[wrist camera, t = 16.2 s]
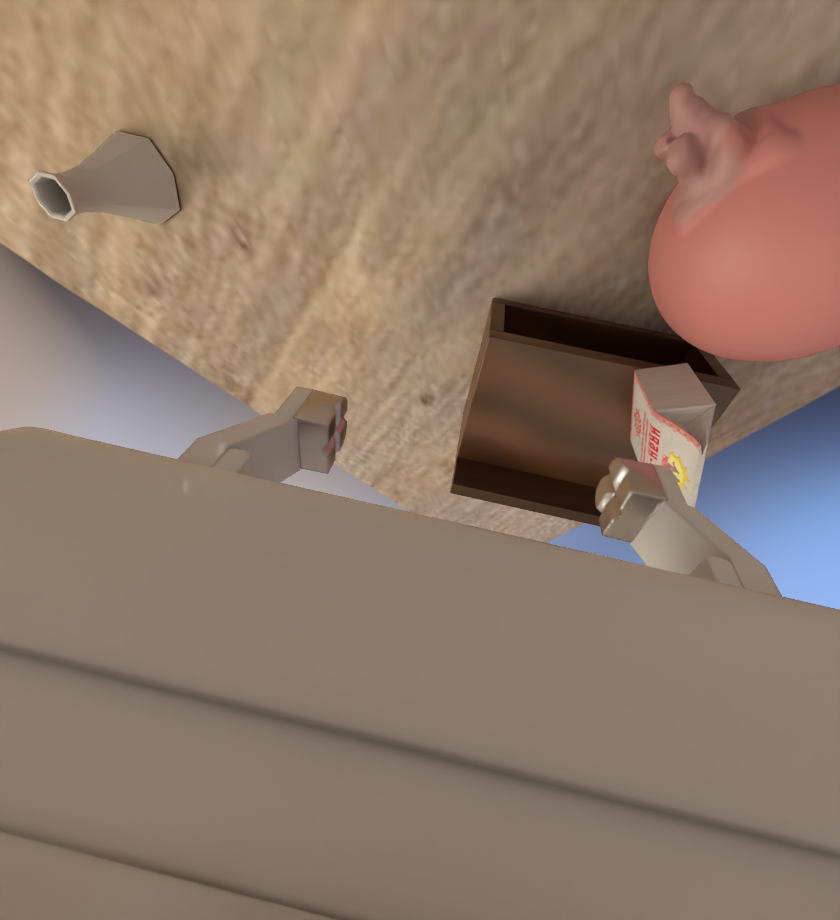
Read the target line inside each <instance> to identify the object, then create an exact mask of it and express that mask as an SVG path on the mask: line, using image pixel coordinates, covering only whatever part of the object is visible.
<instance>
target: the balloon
mask: <svg viewBox="0 0 840 920" xmlns="http://www.w3.org/2000/svg"><path fill="white" fill-rule="evenodd" d="M669 105H670V110H669V115H670V120H671V129H670V130H669V131H667V132H666V133H665V134H663V135H662V136H661V137H660V138H659V139H658V140H657V142H656V144H655V146H654V154H655V156H656V157H658V158H659V159H662V160H663V161H664V163H665V164H666V165H667V167H668V169H669V171H670V172H671V173H672V174H674V175H675V176H676V178H677V180H678V184H677V185H676V187H675V188H674V190H673V191H672V193H671V195H670V196H669V198H668V200H667V202H666V203H665V205H664V207H663V209H662V211H661V214H660V216H659V218H658V221H657V223H656V226H655V229H654V233H653V236H652V240H651V245H650V251H649V261H648V273H649V282H650V287H651V292H652V295H653V298H654V301H655V303H656V306H657V308H658V310H659V312H660V313H661V315H662V317H663V318H664V320H665V321H666V322H667V324H668V325H669V326H670V327H671V328H672V329H673V330H674V331H675V332H676V333H677V334H678V335H679V336H680V337H682V338H683V339H684V340H686V341H687V342H688V343H690V344H692V345H693V346H695V347H697V348H699V349H701V350H703V351H705V352H708V353H710V354H713V355H716V356H719V357H723V358H727V359H732V360H739V361H748V362H774V361H785V360H791V359H797V358H802V357H807V356H811V355H814V354H818V353H821V352H825V351H828V350H830V349H833V348H836V347H839V346H840V84H837V85H831V86H826V87H821V88H817V89H813V90H810V91H807V92H803V93H800V94H797V95H795V96H792V97H789V98H787V99H784V100H782V101H780V102H776V103H771V104H768V105H764V106H760V107H755V108H751V109H748V110H745V111H743V112H741V113H739V114H737V115H735V116H734V117H733V116H732V115H730V114H728V113H724V112H719V111H717V110H715V109H714V108H713V107H712V106H711V105H710V104H708V103H707V102H706V101H705V100H704V99H703V98H701V97H700V96H697V95H695V93H694V91H693V87H692V85H691V84H689V83H680V84H678V85H677V86H676V87H675V88H674V89H673V91H672V92H671V94H670V97H669Z"/></svg>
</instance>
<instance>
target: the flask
mask: <svg viewBox="0 0 840 920" xmlns="http://www.w3.org/2000/svg"><path fill="white" fill-rule="evenodd" d="M29 183H30V186H31V188H32V191H33V194H34V196H35V199H36V201H37V202H38V203H39V204H40V205H41V206H42V208H43V209H44V210H45V211H46V212H47V213H48V214H49V216H50V217H51V218H56V219H60V220H64V221H70V220H71V219H72V218H73V217H74V216H76V215H77V214H79V213H84V212H104V213H109V214H114V215H120V216H125V217H130V218H134V219H138V220H142V221H147V222H151V223H156V224H162V223H164V222H165V221H166V220H168V219H169V218H170V217H171V216H173V215H174V214H175V213H177V212H178V211H179V210H180V207H179V202H178V197H177V191H176V186H175V180H174V175H173V173H172V171H171V170H170V168H169V167H168V166H167V164H166V163H165V161H164V160H163V158H162V157H161V155H160V154H159V153H158V151H157V150H156V148H155V147H154V145H153V144H152V143H151V141H150V140H149V138H146V137H141V136H137V135H133V134H128V133H124V132H119V131H116V132H115V133H114V134H113V135H111V136H110V137H109V138H108V139H107V140H106V141H105V142H104V143H103V144H102V145H101V146H100V147H99V148H98V149H97V150H96V151H95V152H94V153H93V154H91V155H90V156H89V157H88V158H87V159H85V160H84V161H83V162H82V163H81V164H80V165H78V166H76V167H74V168H72V169H70V170H67V171H65V172H63V173H57V174H53V173H49V172H44V171H37V172H36V173H35V174H34V175H33V176H32V177H31V178H30V180H29Z"/></svg>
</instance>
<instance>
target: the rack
mask: <svg viewBox="0 0 840 920" xmlns="http://www.w3.org/2000/svg"><path fill="white" fill-rule="evenodd" d="M683 363H688V365H689V366H690V367H691V369H692V370H693V372H694V373H695V375H696V376H697V378H698V379H699V380H700V382H701V383H702V385H703V386H704V388H705V389H706V391H707V392H708V393H709V395H710V396H711V398H712V399H713V401H714V402H715V404H716V406H715V411H714V416H713V421H712V426H711V428H712V427H713V425H714V424H715V423H716V421H717V420H718V419H719V417H720V416H721V415H722V413H723V412H724V411H725V409H726V408H727V407H728V405H729V404H730V403H731V401H732V400H733V399H734V397H735V396H736V395H737V393H738V392H739V391H740V388H739V386H738V385H737V384H736V383H735V381H734V380H733V379H732V377H731V376H730V375H729V374H728V373H727V371H726V370H725V369H724V368H723V366H722V365H721V364H720V363H719V362H718V360H717V359H716V358H715V357H714V355H713V354H710V353H708V352H705V351H703V350H701V349H699V348H697V347H695V346H693V345H692V344H690V343H688V342H687V341H686V340H684V339H683V338H682V337H680V336H675V335H670V334H666V333H661V332H656V331H651V330H646V329H641V328H636V327H632V326H627V325H622V324H617V323H612V322H607V321H602V320H598V319H593V318H588V317H583V316H578V315H573V314H568V313H564V312H559V311H554V310H549V309H544V308H539V307H534V306H530V305H525V304H520V303H515V302H510V301H505V300H500V299H496V298H493V300H492V304H491V308H490V311H489V315H488V319H487V323H486V327H485V331H484V335H483V339H482V343H481V347H480V351H479V355H478V358H477V362H476V366H475V370H474V374H473V378H472V382H471V386H470V390H469V394H468V398H467V402H466V405H465V409H464V413H463V418H462V424H461V430H460V436H459V442H458V448H457V454H456V461H455V467H454V473H453V479H452V485H451V491H450V493H453V494H458V495H462V496H467V497H471V498H476V499H480V500H484V501H489V502H493V503H498V504H502V505H507V506H511V507H516V508H520V509H525V510H529V511H534V512H538V513H543V514H547V515H552V516H556V517H561V518H565V519H570V520H574V521H579V522H583V523H588V524H592V525H596V526H600V524H599V519H598V518H599V517H600V515H601V514H602V513H601V512H600V511H599V510H598V509H597V508H596V504H595V493H596V489H597V486H598V484H599V482H600V480H601V478H603V477H605V476H606V475H608V474H610V472H609V468H608V467H609V465H610V463H611V462H612V460H613V459H614V458H616V457H619V458H624V459H629V460H634V461H638V460H637V457H636V454H635V452H634V449H633V446H632V443H631V440H630V429H631V414H632V398H633V383H634V370H638V369H646V368H653V367H661V366H668V365H676V364H683Z"/></svg>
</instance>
